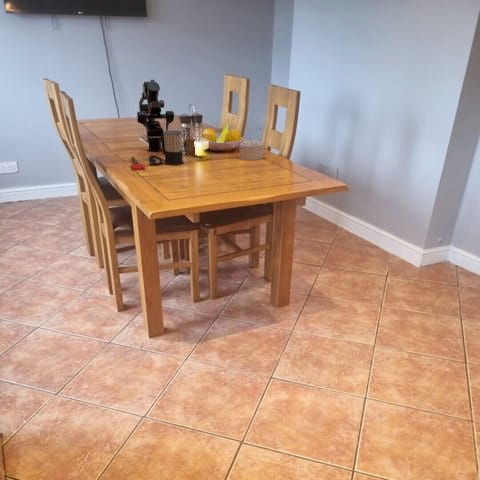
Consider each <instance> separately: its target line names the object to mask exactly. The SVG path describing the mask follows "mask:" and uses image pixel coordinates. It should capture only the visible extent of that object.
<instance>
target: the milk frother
mask: <svg viewBox="0 0 480 480" xmlns="http://www.w3.org/2000/svg"><path fill="white" fill-rule="evenodd" d="M182 135H183V132H182V131H181V130H176V129H175V130H173V129H168V131H166V130H164V132H163V134H162V136H161V149H162V151H161V152H162V155H163V156H164V159H163V158H161V157H160V156H157V155H149V156H148V158H147V159H148V162H149V163H150V164H152V165H154V166H158V165H159V166H160V165H162V164H163V162H164V164H167V165H170V166H179V165H182V164H183V163H184V160H183V139H182V138H183V136H182ZM157 161H159V162H157Z"/></svg>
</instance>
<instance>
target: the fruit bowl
mask: <svg viewBox="0 0 480 480" xmlns="http://www.w3.org/2000/svg"><path fill="white" fill-rule="evenodd" d="M201 135H202V137H204V138H206V139H208V140H209V149H208V150H209V151H212V152H229V151H232V150H234V149H237V148H239V146H240V143H242V142H243V141H244V140H245V137H243V136H242V135H241V133H240V131H239V130H238V128H231V129H230V130H229V123H226V125H225V126H224V128H223V130H222V131H221V133H217V132H216V131H215V130H213V128H210V127H207V128H204V130H203V131H202V132H201Z"/></svg>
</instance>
